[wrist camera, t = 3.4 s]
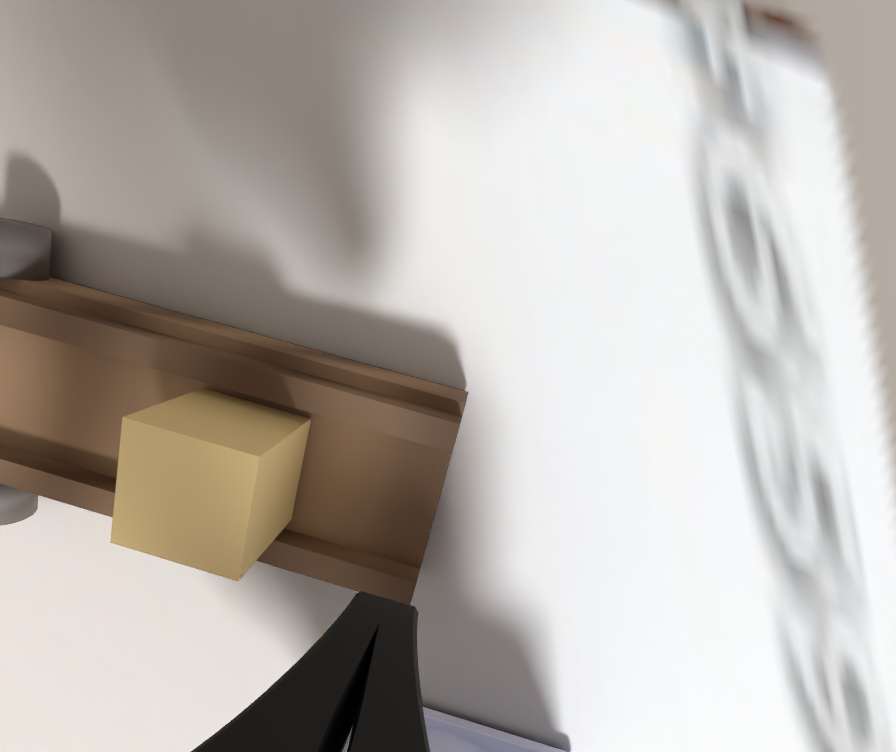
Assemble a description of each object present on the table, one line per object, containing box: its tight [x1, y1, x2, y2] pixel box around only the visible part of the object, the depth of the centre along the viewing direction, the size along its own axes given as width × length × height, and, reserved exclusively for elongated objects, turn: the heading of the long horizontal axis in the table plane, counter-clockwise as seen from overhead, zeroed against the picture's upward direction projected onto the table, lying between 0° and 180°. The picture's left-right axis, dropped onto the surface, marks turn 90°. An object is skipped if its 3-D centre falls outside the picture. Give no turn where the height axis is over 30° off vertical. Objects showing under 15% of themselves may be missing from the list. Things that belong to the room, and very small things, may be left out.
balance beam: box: [0, 218, 468, 605], centre depth 17 cm, size 26×12×2 cm, turn 76°
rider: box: [110, 388, 311, 581], centre depth 15 cm, size 4×4×4 cm
